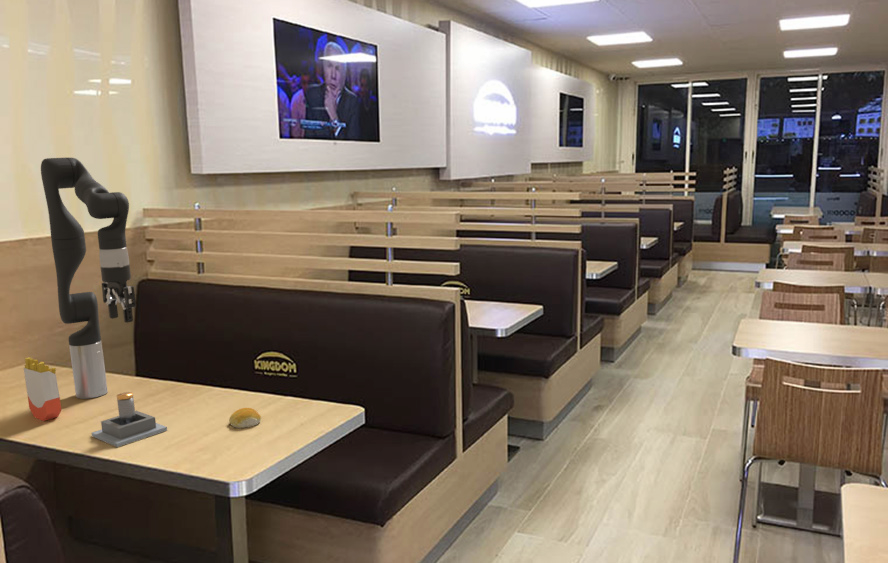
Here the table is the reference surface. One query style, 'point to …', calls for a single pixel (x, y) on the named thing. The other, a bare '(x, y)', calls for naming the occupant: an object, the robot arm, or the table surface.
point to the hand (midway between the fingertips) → (121, 319)
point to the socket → (128, 429)
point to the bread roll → (244, 418)
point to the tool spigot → (126, 408)
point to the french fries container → (42, 390)
